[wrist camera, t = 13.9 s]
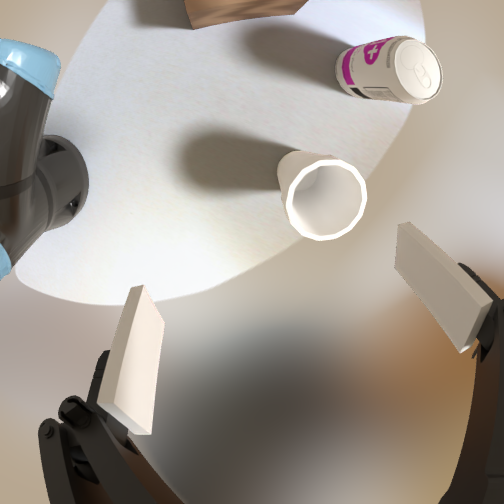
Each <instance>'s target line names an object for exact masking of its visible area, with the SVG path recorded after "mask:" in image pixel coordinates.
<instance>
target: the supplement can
mask: <svg viewBox="0 0 504 504" xmlns="http://www.w3.org/2000/svg"><path fill="white" fill-rule="evenodd" d="M335 73H336V78H337V80H338V82H339V84H340V86H341V87H342V88H343V89H344V90H345V91H346V92H347V93H348V94H350V95H352V96H354V97H356V98H363V99H374V100H384V101H393V102H400V103H408V104H414V105H418V104H422V103H426V102H427V101H428V100H430V99H433V98H434V97H435V96H436V95H438V93H439V91H440V89H441V87H442V81H443V74H442V67H441V65H440V63H439V60H438V58H437V56H436V55H435V53H434V52H433V50H432V49H431V48H430V47H428V46H427V45H426V44H425V43H423V42H420V41H418V40H416V39H414V38H411V37H408V36H395V37H391V38H386V39H382V40H378V41H374V42H370V43H366V44H363V45H359V46H356V47H352V48H349V49H346V50H345V51H343V52H342V53H341V54H340V55H339V57H338V58H337V60H336V65H335Z"/></svg>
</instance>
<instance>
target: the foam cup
mask: <svg viewBox="0 0 504 504" xmlns="http://www.w3.org/2000/svg"><path fill="white" fill-rule="evenodd" d="M277 177H278V181H279V185H280V189H281V193H282V196H281V200H282V203H283V207H284V210H285V214H286V216H287V218H288V220H289V222H290V223H291V224H292V225H293V226H294V227H295V228H296V230H297V231H298V232H299V233H300V234H301V235H302V236H305V237H308V238H311V239H314V240H317V241H321V240H328V239H336V238H338V237H339V236H341V235H343V234H344V233H346V232H348V231H350V230H351V229H352V228H353V227H354V225H355V224H356V223H357V222H358V220H359V219H360V218H361V217H362V214H363V211H364V208H365V205H366V201H367V194H366V186H365V181H364V180H363V178H362V177H361V175H360V174H359V172H358V171H357V170H356V168H355V167H353V166H352V165H350V164H348V163H346V162H344V161H342V160H340V159H338V158H336V157H334V156H332V155H321V154H316V153H311V152H306V151H292V152H290V153H288V154H286V155H284V156H283V158H282V159H281V160H280V162H279V163H278V168H277Z"/></svg>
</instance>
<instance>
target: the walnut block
mask: <svg viewBox="0 0 504 504" xmlns="http://www.w3.org/2000/svg"><path fill="white" fill-rule="evenodd" d="M307 1H308V0H184V3H185V7H186V11H187V15H188V17H189V20H190V23H191V25H192V28H193V30H195V29H199V28H203V27H208V26H212V25H217V24H222V23H227V22H233V21H239V20H245V19H252V18H260V17H269V16H280V15H294V14H295V13H296V12H297V11H298V10H299V9H300V8H301V7H302V6H303V5H304V4H305V3H306V2H307Z"/></svg>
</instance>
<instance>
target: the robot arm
mask: <svg viewBox="0 0 504 504" xmlns="http://www.w3.org/2000/svg"><path fill="white" fill-rule="evenodd" d="M60 69H61V63H60V60H59V58H58V56H57V55H55V54H54V53H52V52H50V51H48V50H46V49H43V48H40V47H37V46H34V45H31V44H27V43H23V42H19V41H15V40H9V39H1V38H0V280H1V279H2V278H3V277H4V276H5V275H7V274H9V273H10V271H11V269H12V267H13V266H14V265H15V264H16V263H17V261H18V260H19V259H20V258H21V257H22V256H23V254H24V253H25V252H26V251H27V250H28V249H29V248H30V246H31V245H32V244H33V243H34V242H35V241H36V240H37V239H38V238H39V237H40V236H41V235H42V234H43V233H44V232H46V231H49V230H52V229H55V228H58V227H61V226H64V225H65V224H67V223H69V222H70V221H71V220H72V219H73V218H74V217H75V216H76V215H77V214H78V213H79V212H80V211H81V209H82V207H83V206H84V204H85V201H86V198H87V195H88V188H89V178H88V171H87V167H86V164H85V161H84V159H83V157H82V155H81V153H80V152H79V150H78V149H77V148H76V147H75V146H74V145H73V144H72V143H71V142H70V141H68V140H67V139H65V138H63V137H60V136H56V135H48V136H43V131H44V127H45V123H46V119H47V115H48V112H49V108H50V105H51V101H52V100H53V99H54V89H55V86H56V82H57V79H58V76H59V72H60ZM42 136H43V137H42ZM395 269H396V270H397V271H398V273H399V274H400V275H401V276H402V277H403V279H404V280H405V281H406V282H407V283H408V285H409V286H410V287H411V288H412V290H413V291H414V292H415V293H416V295H417V296H418V297H419V298H420V300H421V301H422V302H423V303H424V305H425V306H426V307H427V309H428V310H429V311H430V312H431V314H432V315H433V316H434V318H435V319H436V320H437V322H438V323H439V324H440V326H441V327H442V329H443V330H444V331H445V333H446V334H447V335H448V337H449V338H450V340H451V341H452V342H453V344H454V345H455V347H456V348H457V350H458V351H459V353H461V352H463V351H465V350H466V349H468V348H470V347H471V346H472V345H473V343H474V341H475V339H476V338H477V339H478V340H479V344H478V346H477V348H476V349H475V351H474V353H473V355H472V358H474V357H475V355H476V353H477V362H476V373H475V384H474V391H473V398H472V404H471V410H470V415H469V420H468V425H467V430H466V434H465V438H464V442H463V447H462V450H461V454H460V457H459V461H458V464H457V467H456V470H455V473H454V476H453V479H452V482H451V485H450V487H449V489H448V491H447V492H446V493H445V494H444V496H443V497H442V498H441V500H440V502H439V503H438V504H504V299H502V300H501V299H500V298H499V297H498V296H497V295H496V294H495V293H494V292H493V291H492V290H491V289H490V288H489V287H488V286H487V285H486V284H485V283H484V282H483V281H481V279H480V277H478V276H476V274H475V273H474V272H473V271H472V270H471V269H470V268H469V267H467V266H466V265H464V264H462V263H458V264H457V263H456V262H455V261H454V260H453V259H451V258H450V257H449V256H448V255H447V254H446V253H445V252H444V251H443V250H442V249H441V248H439V247H438V246H437V245H436V244H435V243H434V242H433V241H431V240H430V239H429V238H428V237H427V236H426V235H425V234H423V233H422V232H421V231H420V230H418V229H417V228H416V227H415V226H414V225H413V224H411V223H410V222H407V223H403V224H399V225H398V233H397V246H396V257H395ZM164 326H165V323H164V321H163V319H162V317H161V316H160V314H159V312H158V310H157V308H156V307H155V305H154V303H153V301H152V299H151V297H150V295H149V293H148V291H147V290H146V288H145V286H144V285H141V286H136V287H132V288H131V289H130V292H129V295H128V297H127V300H126V303H125V306H124V309H123V312H122V315H121V318H120V321H119V324H118V327H117V330H116V333H115V337H114V340H113V344H112V346H111V350H107V351H104V352H103V353H102V355H101V356H100V358H99V359H98V362H97V365H96V369H95V370H96V371H95V372H94V375H93V379H92V382H91V386H90V390H89V394H88V397H87V401H86V402H84V401H83V400H82V399H81V398H80V397H78V396H76V395H75V396H70V397H68V398H66V399H65V400H64V401H63V402H62V403H61V405H60V407H59V412H58V415H59V419H60V420H62V421H63V422H64V423H61V424H60V423H58V422H57V421H56V420H55V419H52V418H49V419H46V420H44V421H43V422H42V423H41V425H40V427H39V430H38V438H39V447H40V454H41V462H42V467H43V473H44V478H45V483H46V488H47V492H48V497H49V501H50V504H184V503H183V502H182V501H181V500H180V499H179V498H178V497H177V495H176V494H175V493H174V492H173V491H172V490H171V489H170V488H169V487H168V485H167V484H166V483H165V482H164V481H163V480H162V479H161V477H160V476H159V475H158V474H157V473H156V471H155V470H154V469H153V468H152V466H151V465H150V464H149V463H148V461H147V460H146V459H145V458H144V456H143V455H142V454H141V452H140V451H139V450H138V448H137V447H136V446H135V444H134V443H133V441H132V440H131V439H130V438H129V437H128V436H127V434H128V429H129V430H130V431H131V432H133V433H134V434H136V435H151V430H152V419H153V408H154V399H155V390H156V382H157V374H158V366H159V359H160V351H161V345H162V338H163V332H164Z"/></svg>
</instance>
